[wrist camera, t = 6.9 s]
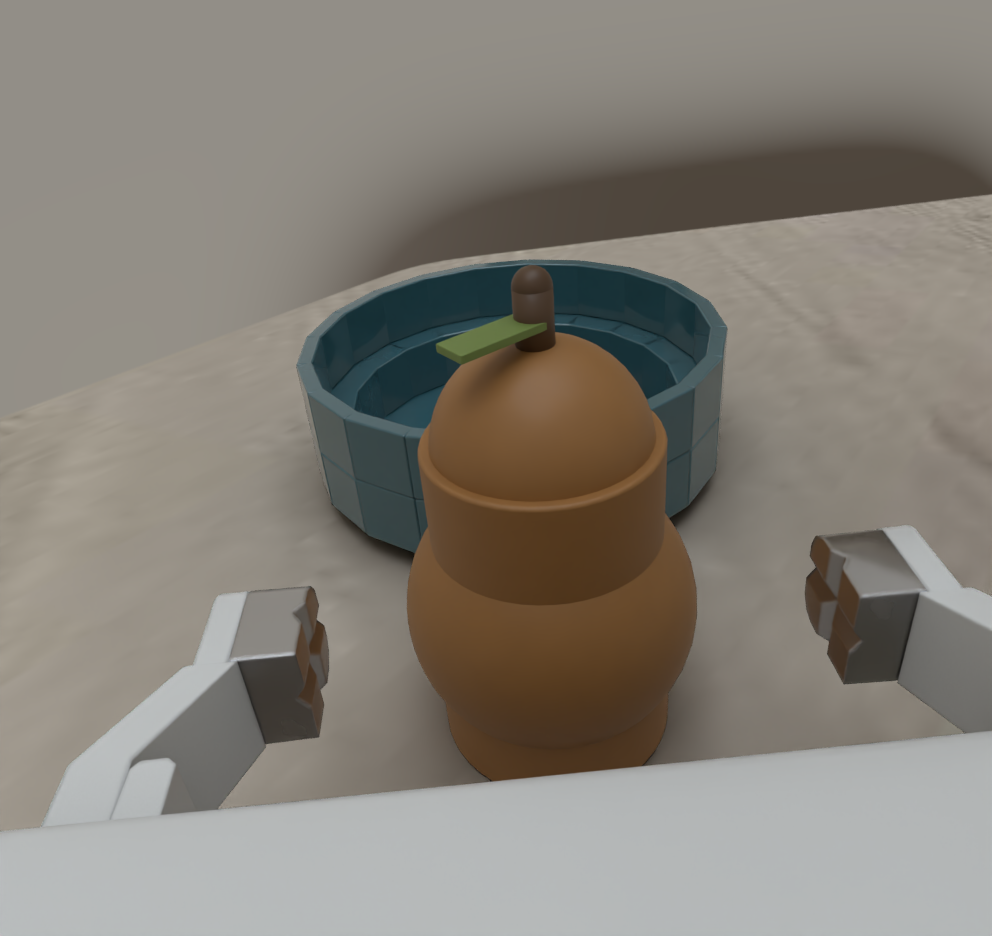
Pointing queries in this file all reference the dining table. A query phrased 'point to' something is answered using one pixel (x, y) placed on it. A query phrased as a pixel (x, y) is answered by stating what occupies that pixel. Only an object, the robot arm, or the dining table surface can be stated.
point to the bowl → (424, 373)
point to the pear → (547, 552)
